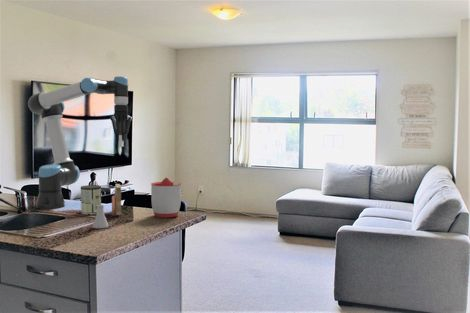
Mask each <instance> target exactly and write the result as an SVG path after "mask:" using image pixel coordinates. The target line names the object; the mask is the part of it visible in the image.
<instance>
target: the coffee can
mask: <svg viewBox="0 0 470 313" xmlns="http://www.w3.org/2000/svg"><path fill="white" fill-rule="evenodd" d="M101 188H102V185H97V184H89V185H82V186H80V208H81V209H80V211H81V212H80V213H81V214H82V215H88V214H90V215H97V205H102V194H101V192H102V189H101Z"/></svg>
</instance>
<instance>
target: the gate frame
mask: <svg viewBox="0 0 470 313" xmlns="http://www.w3.org/2000/svg"><path fill="white" fill-rule="evenodd" d="M111 216H114V217H115V216H117V215H116V196H115V195H111Z"/></svg>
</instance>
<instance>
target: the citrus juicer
mask: <svg viewBox="0 0 470 313" xmlns="http://www.w3.org/2000/svg"><path fill="white" fill-rule="evenodd" d="M150 186H151V192H150V193H151V196H150V197H151V198H150V199H151V207H152V211H153V212H152V213H153V214H154V217H157V218H163V219H168V218H174V217H177V216H178V215H179V213H180V208H181V203H182V192H183V189H182V183H181V182H180V183H178V184H175V185H174V181H171V180H170V179H169V178H168V177H165V178H164V179H163V180H162V181H156V182H152V183H150Z"/></svg>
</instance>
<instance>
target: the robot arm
mask: <svg viewBox="0 0 470 313" xmlns="http://www.w3.org/2000/svg"><path fill="white" fill-rule="evenodd" d="M128 93H129V79H128V77H127V76H119V75H117V76H114V78H113V80H106V79H105V80H103V79H99V78H93V77H85V78H83V79H82V80H81V81H80V82H76V83H73V84H70V85H67V86H63V87H61V88H57V89H54V90H51V91H48V92H44V91H42V92H39V93H36V94H33V95H31V96H30V97H29V99H28V100H27V101H28V102H27V106H28V108H29V110H30V111H31V113H33V114H35V115H38V116H39V115H40V116H41V120H42V121H44V122H45V125H46V129H47V134H48V140H49V143H50V147H51V150H52V156H53V160H54V162H53V163H52V164H51V163H50V164H45V165H41V166H40V167H39V169H38V195H37V199H36V203H35V208H37V209H42V210H47V209H48V210H51V209H52V210H53V209H61V208H63V207H66V204H65V199H64V196H63V194H62V187H64V186H70V185H73V184H75V183H76V182H78V180H79V178H80V174H81V172H80V169H79V167H78V166H77V165H75V163H74V160H73V159H71V158H70V153H69V149H68V145H67V141H66V136H65V133H64V127H63V124H62V118H63V113H64V110H65V102H67V101H71V100H74V99H78V98H81V97H84V96H86V95H90V94H97V95H114V96H113V98H114V99H113V103H114V105H113V111H114V112H113V115H112V116H110V117H109V119H110V121H111V126H112V129H113V134H114V135H115V134H116V135H117V141H118V147H119V148H121V147H123V148H124V147H125V145H124V144H125V143H124V142H125V141H126V135H128V134H129V131H130V127H131V122H132V120H133V117H132V116H130V115H129V105H128V104H129V94H128Z"/></svg>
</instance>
